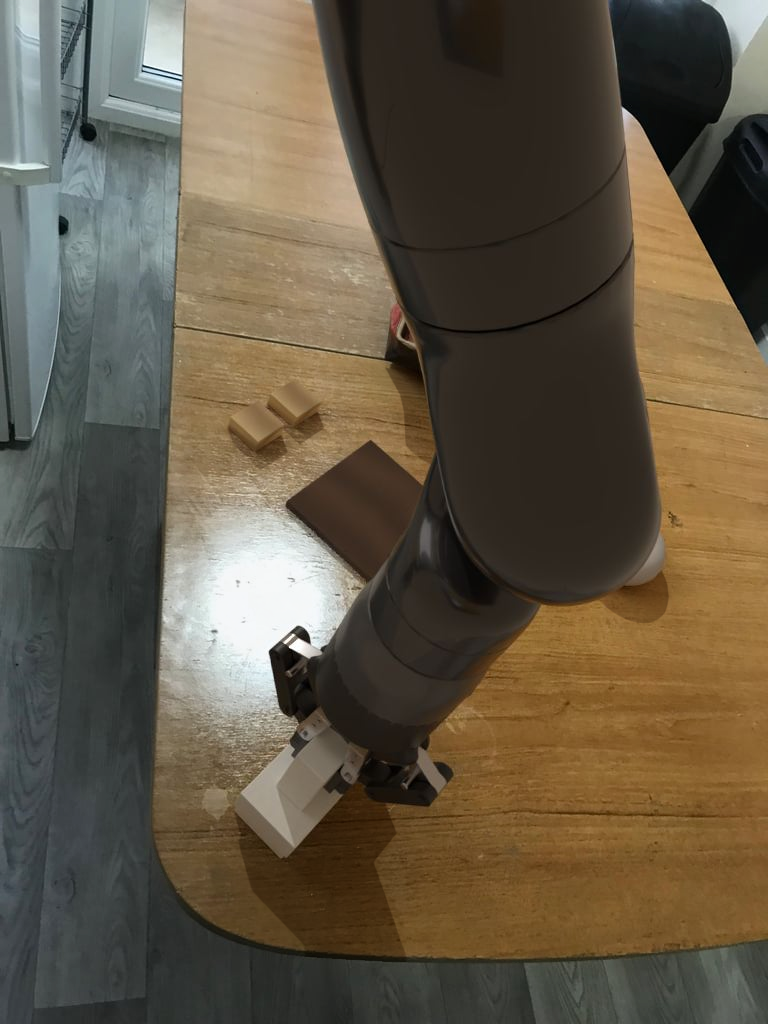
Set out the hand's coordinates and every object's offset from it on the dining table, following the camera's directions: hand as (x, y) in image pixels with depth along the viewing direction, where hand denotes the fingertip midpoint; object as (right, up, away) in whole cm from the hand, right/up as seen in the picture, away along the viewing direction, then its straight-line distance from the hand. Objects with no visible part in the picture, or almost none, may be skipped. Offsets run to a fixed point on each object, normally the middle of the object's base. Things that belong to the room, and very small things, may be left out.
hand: (320, 765), depth 57 cm
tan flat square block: (-8, +25, +21) cm, 33 cm away
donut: (+27, +13, +27) cm, 41 cm away
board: (+5, +15, +20) cm, 26 cm away
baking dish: (+11, +34, +36) cm, 51 cm away
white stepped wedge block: (-1, -3, +4) cm, 5 cm away
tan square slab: (-4, +27, +24) cm, 37 cm away
